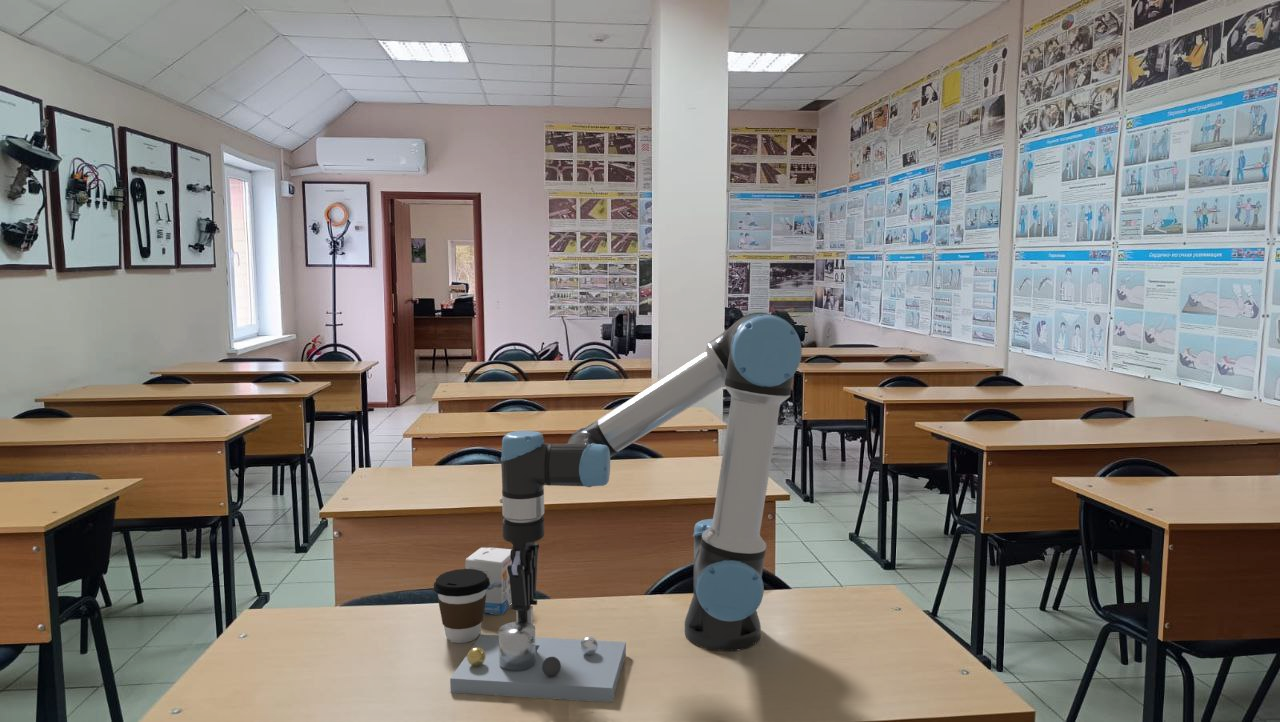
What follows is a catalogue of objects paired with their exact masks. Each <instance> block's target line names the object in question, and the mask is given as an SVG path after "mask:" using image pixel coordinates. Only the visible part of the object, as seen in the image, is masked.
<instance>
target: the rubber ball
mask: <svg viewBox="0 0 1280 722" xmlns="http://www.w3.org/2000/svg"><path fill="white" fill-rule="evenodd" d="M560 669H561V664H560V661H559V660H558V659H557V658H556V657H548V658H546V659H545V660H544V662H543V664H542V670H543V672H544V674H545V675H547V676H550V677H553V676H555V675H557V674H558V673H559V671H560Z"/></svg>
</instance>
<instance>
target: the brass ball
mask: <svg viewBox="0 0 1280 722" xmlns="http://www.w3.org/2000/svg"><path fill="white" fill-rule="evenodd" d="M467 654H468V655H467ZM467 654H466V656H467V660H468V662H469V664H470V665H472V666H480V665H481V664H482V663H483V662H484V661H485V658H486V654H485V651H484V650H483V649H482V648H480V647H474V648H472V647H471V649H469V651H468V652H467Z"/></svg>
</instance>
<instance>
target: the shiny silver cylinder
mask: <svg viewBox="0 0 1280 722" xmlns="http://www.w3.org/2000/svg"><path fill="white" fill-rule="evenodd" d="M498 635H499V665H500V666H501V667H502V668H504V669H506V670H512V671H517V670H524V669H527V668H529V667H531V666H533V665H534V664H535V662H536V647H535V637H536V626H535V624H534V623H533V624H531V623H528V622H516V621H512V622H511V621H510V622H508V623H505V624H502V625H501V626H500V627H499V628H498Z"/></svg>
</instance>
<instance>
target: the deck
mask: <svg viewBox="0 0 1280 722" xmlns="http://www.w3.org/2000/svg"><path fill="white" fill-rule="evenodd" d="M478 637H479V638H477V639H476V642H475V643H474V645H473V646H472V647H471V649H472V648H474V647H480V648H482V649H483V650H484V651H485V654H486V658H485V661H484V662H483V663H482V664H481V665H480V666H472V665H470V664H469V662H468V660H467V655H468V653H467V654H466V656H465V657H464V659H463V660H462V661H461V663H460V664H459V665H458V666H457V668H456V669H455V671H454V672H453V673H452V675H451V676H450V679H449V682H450V686H449V687H450V689H449V690H450V693H453V694H455V693H456V694H457V693H458V694H470V695H489V696H501V697H502V696H504V697H519V698H520V697H521V698H534V699H552V700H553V699H554V700H566V701H567V700H568V701H583V702H585V701H586V702H600V703H613V700H614V697H615V695H616V691H617V687H618V684H619V681H620V676H621V673H622V670H623V666H624V662H625V659H626V656H627V653H626V652H627V647H626V644H627V643H626V641H612V640H597V639H596V641H597V643H598V648H597V650H596V652H595V653H594V654H592V655H586V654H584V653H583V652H582V651H581V648H580V644H581V641H582V640H583V639H576V638H575V639H574V638H555V637H538V636H535V647H536V662H535V664H534V665H533V666H531V667H529V668H527V669H524V670H517V671H512V670H506V669H504V668H502V667H501V666H500V665H499V634H483V633H482V634H480V636H478ZM548 657H556V658H557V659H558V660H559V661H560V664H561V669H560V671H559V673H558V674H557V675H555V676H553V677H550V676H547V675H545V674H544V672H543V670H542V664H543V662H544V660H545V659H546V658H548Z"/></svg>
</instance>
